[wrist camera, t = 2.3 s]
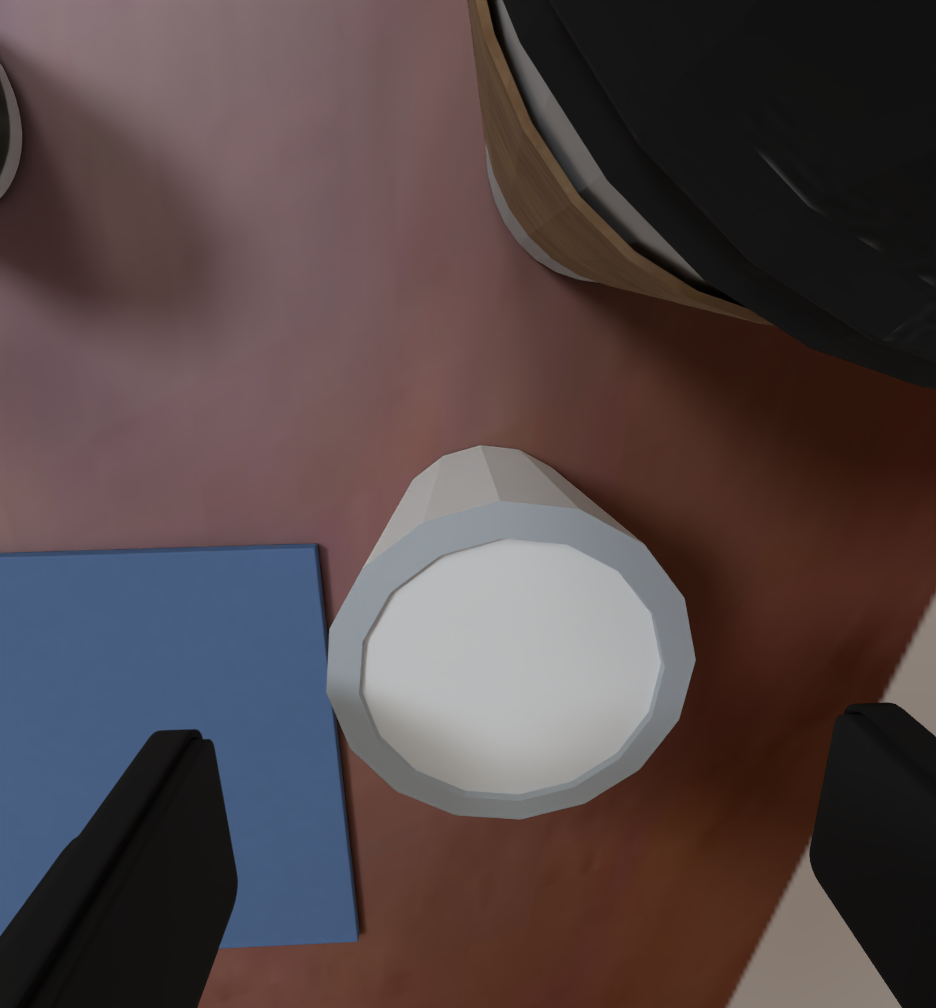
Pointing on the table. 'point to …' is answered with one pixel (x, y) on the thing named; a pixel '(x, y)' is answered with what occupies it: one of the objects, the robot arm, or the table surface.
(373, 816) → the table surface
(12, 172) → the supplement bottle
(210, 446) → the table surface
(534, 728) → the white cup
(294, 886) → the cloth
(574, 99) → the coffee cup
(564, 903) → the table surface
